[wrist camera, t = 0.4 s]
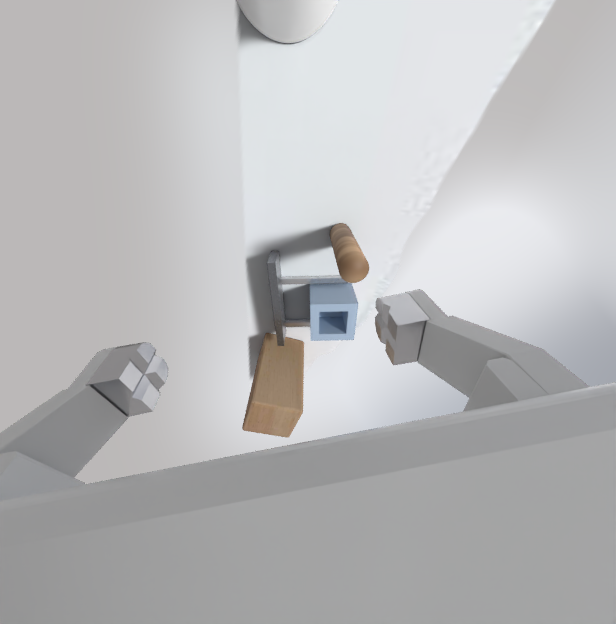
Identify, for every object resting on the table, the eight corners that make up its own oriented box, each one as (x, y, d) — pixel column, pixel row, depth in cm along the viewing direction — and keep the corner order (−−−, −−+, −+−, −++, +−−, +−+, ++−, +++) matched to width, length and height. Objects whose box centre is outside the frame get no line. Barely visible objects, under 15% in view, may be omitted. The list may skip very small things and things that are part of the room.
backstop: (271, 250, 47) (267, 263, 42) (349, 249, 47) (354, 261, 42) (280, 329, 58) (277, 346, 53) (342, 328, 58) (346, 344, 53)
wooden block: (257, 358, 64) (241, 431, 48) (266, 331, 59) (250, 402, 42) (293, 366, 66) (289, 438, 50) (304, 340, 61) (303, 412, 44)
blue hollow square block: (309, 284, 51) (310, 304, 44) (351, 283, 51) (358, 303, 44) (310, 318, 56) (310, 340, 49) (348, 317, 56) (353, 339, 49)
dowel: (329, 223, 44) (340, 255, 31) (351, 222, 44) (370, 255, 31) (329, 244, 46) (338, 283, 33) (349, 244, 46) (367, 282, 33)
